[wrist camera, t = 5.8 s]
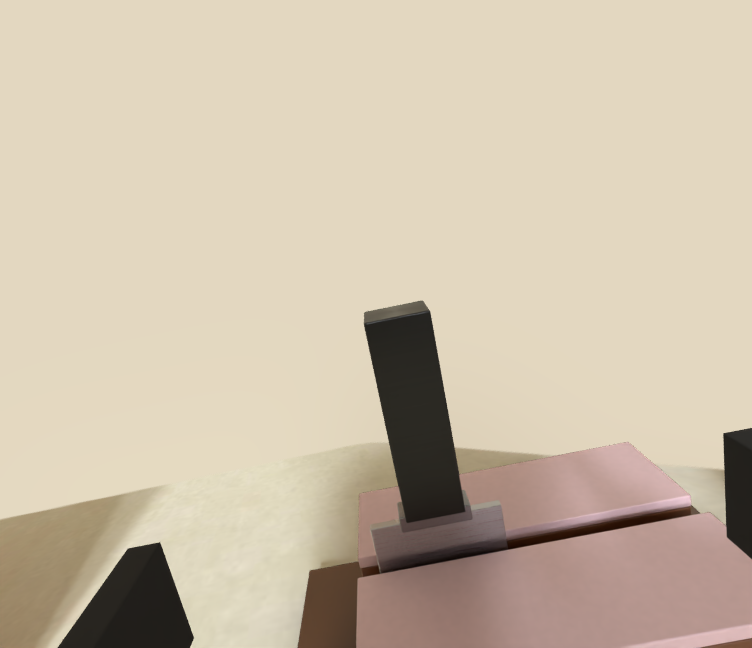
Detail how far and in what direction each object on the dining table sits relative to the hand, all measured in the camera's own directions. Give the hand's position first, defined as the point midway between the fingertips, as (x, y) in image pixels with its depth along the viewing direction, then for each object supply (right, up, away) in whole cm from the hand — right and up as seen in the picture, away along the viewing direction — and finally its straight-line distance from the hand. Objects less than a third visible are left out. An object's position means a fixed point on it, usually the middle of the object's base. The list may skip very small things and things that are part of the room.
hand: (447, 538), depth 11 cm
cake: (+7, -11, +12) cm, 18 cm away
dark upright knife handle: (+3, -12, +12) cm, 18 cm away
